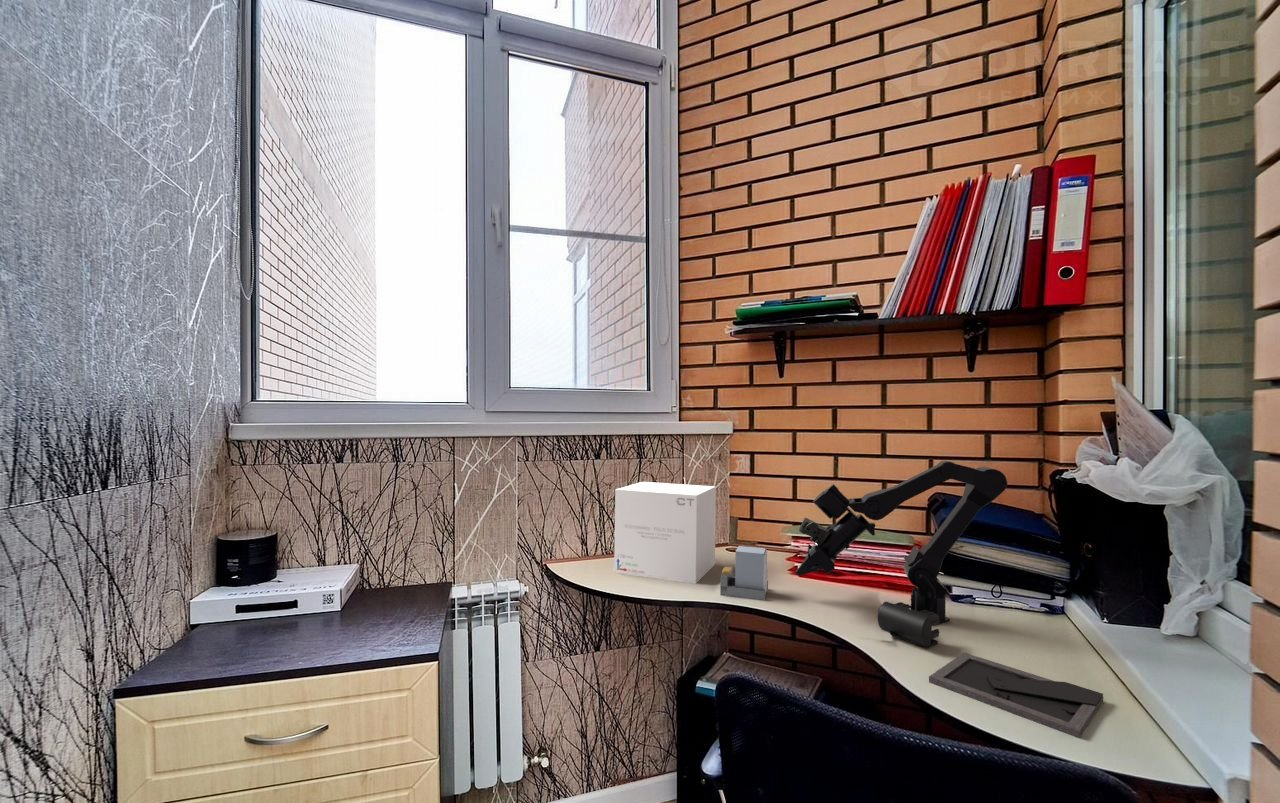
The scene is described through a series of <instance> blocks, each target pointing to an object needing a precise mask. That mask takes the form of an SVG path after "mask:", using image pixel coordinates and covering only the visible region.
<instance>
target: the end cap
mask: <svg viewBox="0 0 1280 803" xmlns="http://www.w3.org/2000/svg"><path fill="white" fill-rule="evenodd" d="M939 622H940V621H939V616H938V614H936V613H934V612H930V611H927V610H923V611H914V610H911V604H908V603H904V602H903V601H902V602H901V601H900V602H895V603H893V602H889V601H884V602H883V603H882V604H881V605H880V607H879V609H878V611H877V625H878V627H879V628H880V629H881V630H884V631H887V632H889V634H890V635H891V636H893V637H895V638H898V639H900V640H901V639H902V640H904V641H907V642H909V643H912V644H914V645H918V646H920V647H923V648H925V649H930V648H932V647H935V646H937V645H938V644H939V641H938V640H936V638H939V636H940V632H941V631H940V629H939V628H936V629H933V630H932V628H933V626H935V625H939V624H940V623H939ZM938 623H939V624H938Z"/></svg>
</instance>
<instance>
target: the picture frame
mask: <svg viewBox="0 0 1280 803" xmlns="http://www.w3.org/2000/svg"><path fill="white" fill-rule="evenodd" d="M928 683H930V684H932V685H935V686H937V687H940V688H943V689H945V690H948V691H951V692H954V693H957V694H959V695H962V696H963V697H967V698H970V699H972V700H975V701H978V702H980V703H983V704H986V705H989V706H990V707H994V708H997V709H1000V710H1002V711H1004V712H1007V713H1010V714H1012V715H1015V716H1018V717H1021V718H1024V719H1026V720H1029V721H1031V722H1034V723H1036V724H1039V725H1043V726H1045V727H1048V728H1050V729H1053V730H1056V731H1058V732H1061V733H1062V734H1063V733H1064V734H1067V735H1068V736H1071V737H1074V738H1076V739H1077V738H1078V739H1080V737H1081V736H1082V735H1083V733H1084V732H1085V731H1086V729H1087V727H1088V726H1089V724H1090V723H1091V722H1092V720H1093V719H1094V718H1095V715H1096V714H1097V713H1098V711H1099V710H1100V708H1101V707H1102V705H1103V704H1104V693H1102V692H1099V691H1095V690H1092V689H1090V688H1086V687H1082V686H1079V685H1076V684H1073V683H1070V682H1067V681H1057V680H1053V679H1049V678H1046V677H1043V676H1041V675H1037V674H1033V673H1031V672H1027V671H1025V670H1022V669H1017V668H1015V667H1011V666H1008V665H1005V664H1002V663H999V662H996V661H994V660H993V661H992V660H989V659H986V658H983V657H979V656H976V655H974V654H970V653H967V652H962V653H961V654H960V655H958V656H956V658H953V659H952V660H951V661H949V662H948V663H946V664H945V665H943V666H942V667H940V668H939V669H938V670H936V671H935V672H933V673H931V674H930V675H929V676H928Z"/></svg>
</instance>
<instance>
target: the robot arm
mask: <svg viewBox="0 0 1280 803" xmlns="http://www.w3.org/2000/svg"><path fill="white" fill-rule="evenodd" d="M948 480H954V481H957V482H960V483H961V482H962V483H964V484H965V486H964V490H963V494H962V496H961V499H959V501H958V502H957V503H956V505H955V507H954V508H952V510H951V511H950V513H949V514H948V516H947V517H946V518H945V520H944V521H943V522H942V524H941V525H940V526H939V528H938V529H937V530H936V532H934V534H933V536H932V537H931V539H930V540H929V541H928V542H927V543H926V544H925V545H924V546H922V547H921V548H920V549H919V548H918V547H917V546H916V545H915V546H912V548H911V551H910V552H909V554H908V555H907V556H905V557H904V558H903V559H904V561H905V562H904V563H903V564H904V565H903V571H904V574H905V575H906V577H907V578H908V581H909V582H910V583H911V585H913V586H914V587H915V588H912V589H911V590H912V592H911V594H910V605H911V608H910V609H911V610H914V611H923V610H927V611H930V612H934V613H936V614H938V616H939V621H940V622H939V623H938V624H937V625H939V624H942V623H946V622H950V620H951V618H950V617H948V616H946V594H947V589H946V587H945V586H944V585H943V583H942V582H941V581H940V579H939V578H938V576H939V574H940V572H941V568H942V565H943V561H944V559H945V557H946V555H947V554H948V553H949V552H950V550H951V549H952V547H954V545H955V544H956V542H957V541H958V540H959V538H960V537H961V536H962V534H963V533H964V531H965V530H966V529H967V527H968V526H969V525H970V524H971V522H972V521H973V520H974V518H975V517H976V516H977V515H978V513H979V512H980V510H981V509H983V507H985V506H987V505H989V504H990V503H992V502H993V501H994V500H996V499H997V498H998V497H999V496H1000V495H1001V494H1003V493H1004V492H1005V490H1006V489H1007V487H1008V480H1007V477H1006V475H1005V474H1004V473H1003V471H1001V470H998V469H995V468H992V467H989V466H980V467H977V468H974V467H970V466H966V465H963V464H962V465H961V464H957V463H954V462H953V461H949V460H942V461H940V462H938V463H937V464H936V465H934V466H932V467H930V468H928V469H926V470H924V471H922V472H919V473H918V474H916V475H913V476H912V477H910V478H908V479H906V480H904V481H902V482H900V483H898V484H896V485H894V486H891V487H887V488H882V489H879V490H874V491H871V492H869V493H865V494H864V496H862V497H856V498H855V497H854V498H847V496H845V495H844V494H843V492H841V491H840V489H839V487H837V486H836V485H835V484H834V483H833V484H831V485H830V486H829V487H827V488H826V489H825V490H823V491H822V492H820V493H819V494H818V495H817V496H816V497H815V499H813V501H812V503H813V504H814V505H815V506H816V507H817V508H818V509H819V510H820V511H821V512H822V513H823V514H824V515H825V516H826V517H827V518H828V519H830V520H831V519H832V518H833V519H835V520H837V521H836V522H835V523H834V524H833V525H832V524H831V525H830V524H829V525H828V526H827V527H825V526H822V525H821V524H819V523H818V522H816V521H814V520H812V519H809V518H807V517H804V518H803V520H802V522H801V525H800V526H799V530H798V531H799V533H800V534H803V535H806V536H809V537H810V538H809V541H810V542H814V543H813V545H811V544H810V543H808V546H807V555H806V556H805V557H804V560H803V561H802V562H801V564H800V565H799V566H798V568H797V569H796V571H795V574H796V575H797V576H798V577H799V576H801V577H802V576H804V575H806V574H811V573H814V572H817V571H819V572H820V571H822V570H823V571H824V572H825V573H826V574H828V575H830V574H831V573H832V572H833V571H834V570H835V565H836V564H835V560H837V559H838V555H840V554H841V553H842V552H843V551H844V550H848V549H849V548H850V547H851V544H852V543H854V542H855V540H857V539H858V538H859V537H860V536H861V535H862V534H863V533H865V532H866V531H867V532H868V533H869V534H870V535H871V536H873V537H874V536H876V533H875V529H876V528H875V527H876V523H875V522H872V521H871V522H870V521H869V520H873V521H879V520H882V519H884V518H885V517H886V516H888V515H889V514H891V513H892V512H894V511H895V510H896V509H897V508H898V507H900V505H901V504H903V503H904V502H907V501H909V500H910V499H912V498H914V497H916V496H918V495H921V494H923V493H924V492H926V491H928V490H930V489H932V488H935V487H937V486H939V485H941V484H942V483H943V484H944V483H945V482H947V481H948ZM856 513H859V514H856ZM862 514H863V515H864V516H865V517H866V518H865V517H864V516H863V515H862ZM841 516H842V517H841ZM840 517H841V518H840ZM838 519H839V520H838ZM867 519H869V520H867Z"/></svg>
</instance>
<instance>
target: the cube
mask: <svg viewBox="0 0 1280 803" xmlns="http://www.w3.org/2000/svg"><path fill="white" fill-rule="evenodd" d="M614 492H615V493H614V498H615V499H614V548H613V549H614V552H613V553H614V555H613V556H614V559H613V573H617V574H622V575H629V576H637V577H642V578H643V577H645V578H652V579H657V580H658V579H659V580H665V581H673V582H680V583H681V582H682V583H688V584H694V585H695V584H697V583H698V582H699V581H700V580H701V579H702V578H704V576H705V575H706V574H707V573H708V572H709V571H710V570H711V569H712V568H713V567H714V566H715V565H716V514H717V513H716V510H717V509H716V506H717V505H716V503H717V502H716V500H717V494H716V492H717V487H716V486H713V485H701V484H699V485H697V484H683V483H668V482H667V483H666V482H652V481H640V482H637V483H633V484H630V485H627V486H624V487H623V486H622V487H618V488H615V491H614Z"/></svg>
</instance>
